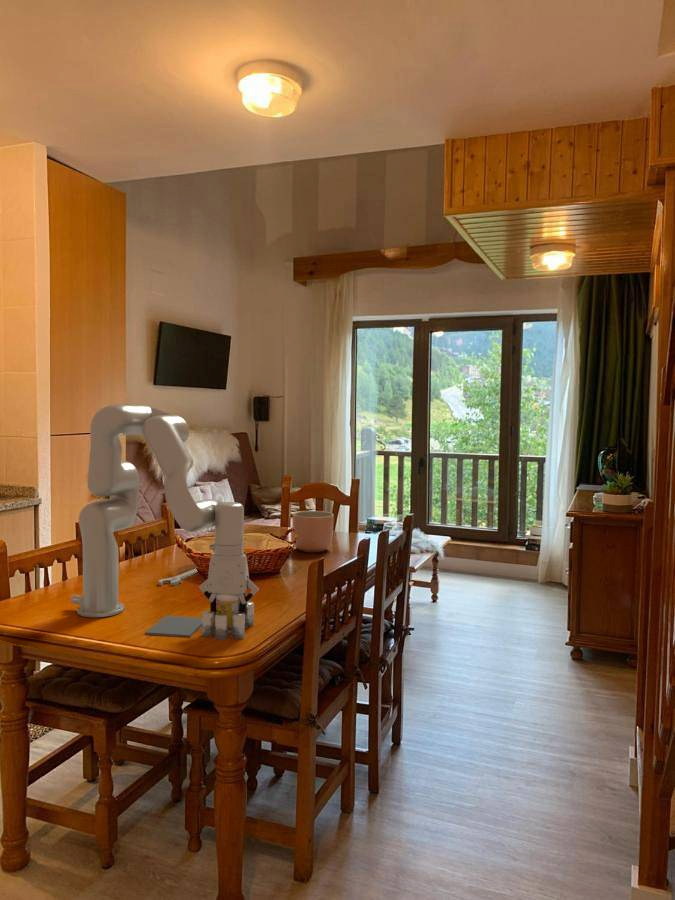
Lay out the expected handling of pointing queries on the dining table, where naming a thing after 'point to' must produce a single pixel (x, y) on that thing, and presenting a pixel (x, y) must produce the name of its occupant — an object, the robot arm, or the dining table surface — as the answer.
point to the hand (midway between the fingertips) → (228, 616)
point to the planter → (313, 530)
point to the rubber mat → (176, 626)
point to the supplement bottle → (227, 606)
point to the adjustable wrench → (177, 578)
